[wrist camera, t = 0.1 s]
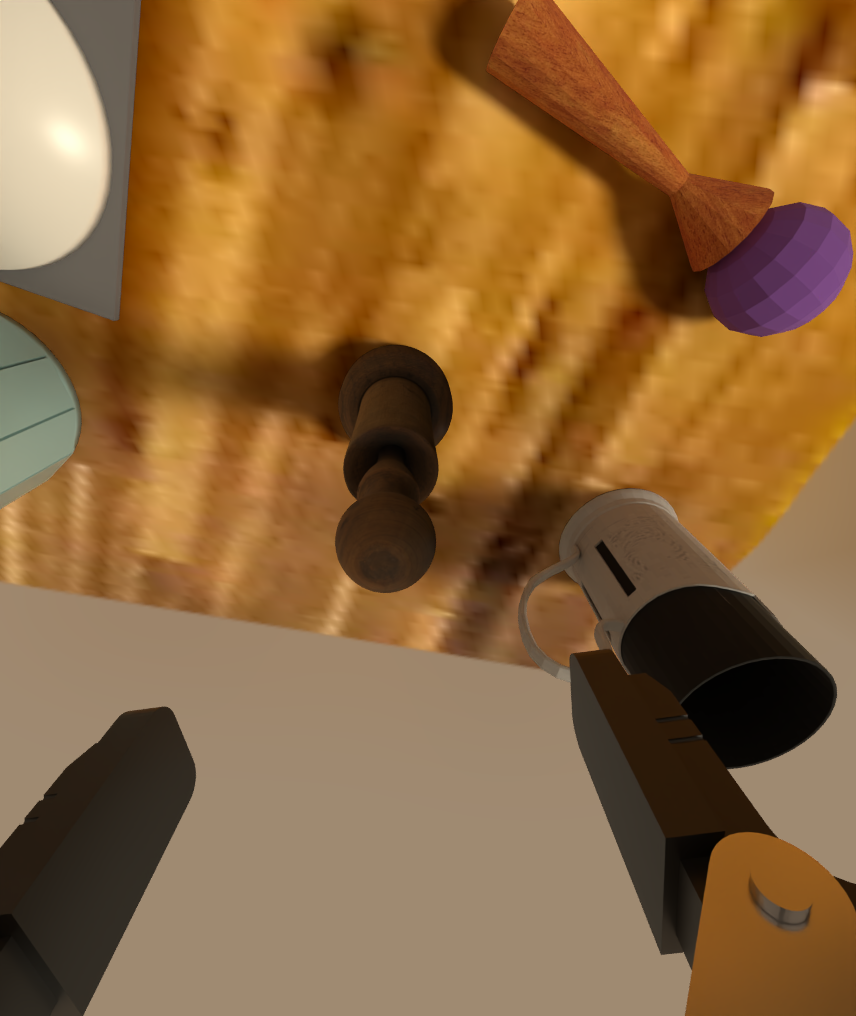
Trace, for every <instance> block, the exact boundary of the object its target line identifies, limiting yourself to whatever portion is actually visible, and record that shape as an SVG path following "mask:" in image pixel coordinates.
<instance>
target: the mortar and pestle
mask: <svg viewBox="0 0 856 1016" xmlns="http://www.w3.org/2000/svg"><path fill="white" fill-rule="evenodd" d="M338 408H339V415H340V419H341V422H342V425H343V427H344V429H345V431H346V433H347V434H348V436H349V437H350V439H351V440H350V443H349V446H348V449H347V452H346V455H345V459H344V466H343V471H344V478H345V482H346V484H347V487H348V489H349V491H350V493H351V494H352V495H353V496H354V497H355V498H356V499H357V500H358V501H356V502H355V503H354V504H352V505H351V506H350V507H349V508H348V509H347V511H346V512H345V513H344V515H343V516H342V518H341V520H340V522H339V524H338V527H337V531H336V538H335V546H336V553H337V557H338V560H339V562H340V564H341V566H342V568H343V570H344V571H345V573H346V574H347V575H348V576H349V577H350V578H351V579H352V580H353V581H354V582H355V583H357V584H358V585H360V586H361V587H363V588H365V589H368V590H371V591H374V592H380V593H391V592H396V591H400V590H403V589H406V588H408V587H409V586H411V585H413V584H414V583H416V582H417V581H418V580H419V579H420V578H421V577H422V576H423V575H424V574H425V572H426V571H427V570H428V568H429V566H430V565H431V562H432V560H433V557H434V554H435V548H436V536H435V530H434V526H433V524H432V521H431V519H430V517H429V516H428V514H427V513H426V511H425V510H424V509H423V508H422V507H421V506H420V505H419V504H420V503H421V502H423V501H424V500H425V499H426V498H427V497H428V496H429V494H430V493H431V492H432V490H433V488H434V486H435V484H436V481H437V477H438V459H437V453H436V448H435V446H436V445H437V444H438V443H439V442H440V441H441V440H442V438H443V437H444V435H445V434H446V432H447V430H448V428H449V425H450V422H451V419H452V412H453V403H452V396H451V392H450V388H449V384H448V382H447V379H446V377H445V375H444V373H443V371H442V370H441V368H440V367H439V366H438V365H437V363H436V362H435V361H434V360H433V359H432V358H430V357H429V356H428V355H426V354H425V353H423V352H421V351H419V350H417V349H415V348H412V347H408V346H402V345H388V346H383V347H379V348H376V349H374V350H371V351H369V352H368V353H366V354H364V355H363V356H362V357H360V358H359V359H358V360H357V361H356V362H355V363H354V364H353V365H352V367H351V368H350V370H349V371H348V373H347V375H346V377H345V379H344V382H343V384H342V387H341V390H340V394H339V401H338Z"/></svg>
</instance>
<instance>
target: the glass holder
mask: <svg viewBox="0 0 856 1016" xmlns="http://www.w3.org/2000/svg"><path fill="white" fill-rule="evenodd" d="M559 556H560V562H557V563H555V564H553V565H551V566H549V567H548V568H546V569H544V570H543V571H541V572H539V573H537V574H536V575H535V576H533V577H532V578H531V579H530V580H529V582H528V583H527V585H526V587H525V588H524V591H523V594H522V597H521V600H520V603H519V611H518V624H519V628H520V633H521V637H522V641H523V643H524V646H525V648H526V650H527V652H528V654H529V656H530V657H531V658H532V659H533V660H534V662H535V663H536V664H537V665H538V666H539V667H540V668H541V669H543V670H544V671H546V672H547V673H549V674H551V675H552V676H554V677H556V678H558V679H561V680H564V681H567V682H570V683H571V681H570V667H567V666H564V665H561V664H559V663H558V662H556V661H554V660H553V659H551V658H549V657H548V656H547V655H546V654H545V653H544V652H543V651H542V650H541V649H540V648H539V647H538V646H537V644H536V642H535V640H534V638H533V636H532V634H531V632H530V628H529V623H528V619H527V601H528V598H529V596H530V594H531V593H532V591H533V589H534V588H535V587H536V586H537V585H539V584H540V583H541V582H543V581H544V580H546V579H548V578H549V577H551V576H553V575H555V574H557V573H559V572H561V571H563V570H565V571H566V573H567V574H568V575H569V576H570V577H571V578H572V579H573V580H574V581H575V582H577V583H578V584H579V585H580V587H581V589H582V591H583V593H584V595H585V596H586V598H587V600H588V602H589V604H590V606H591V608H592V610H593V611H594V613H595V615H596V617H597V619H598V621H599V623H598V624H597V625H596V628H595V632H594V637H595V640H596V643H597V645H598V647H599V650H603V649H610V650H612V648H611V645H612V647H613V649H614V651H615V653H616V655H617V656H618V658H619V660H620V662H621V664H622V666H623V667H624V669H625V670H626V672H627V673H628V674H629V675H632V674H640V673H646V674H648V675H649V676H650V677H652V678H653V679H655V680H656V681H657V682H659V683H660V684H662V685H663V686H664V687H666V688H667V689H669V690H670V691H671V692H672V694H673V695H674V696H675V698H676V699H677V701H678V702H679V703H680V705H681V706H682V707H683V709H684V710H685V712H686V713H687V714H688V718H689V720H692V721H693V723H694V724H695V726H696V727H697V728H698V730H699V731H700V733H701V734H702V737H703V739H704V741H705V740H706V741H707V742H708V744H709V745H710V746H711V748H712V749H713V751H714V752H715V753H716V755H717V756H718V758H719V759H720V760H721V762H722V763H723V765H724V766H725V767H726V769H734V768H742V767H747V766H752V765H756V764H759V763H763V762H765V761H769V760H771V759H774V758H776V757H779V756H781V755H783V754H785V753H787V752H789V751H791V750H793V749H794V748H796V747H797V746H799V745H800V744H802V743H803V742H805V741H806V740H807V739H809V738H810V737H811V736H812V735H814V734H815V733H816V732H817V731H818V730H819V729H820V727H821V726H822V725H823V724H824V723H825V722H826V720H827V719H828V717H829V716H830V715H831V712H832V710H833V708H834V706H835V702H836V698H837V687H836V684H835V681H834V679H833V677H832V675H831V674H830V673H829V672H828V671H827V670H826V669H825V668H824V667H823V666H822V665H821V664H820V663H819V662H818V661H817V660H816V659H815V658H814V657H813V656H812V655H811V654H810V653H809V652H808V651H807V650H806V649H805V648H804V647H803V646H802V645H801V644H800V643H799V642H798V641H797V640H796V639H795V638H793V636H791V635H790V634H789V633H788V632H787V631H786V630H785V629H784V628H783V626H782V625H781V624H780V622H779V621H778V620H777V618H776V617H775V615H774V614H773V613H772V612H771V611H770V610H769V609H768V608H767V607H766V606H765V605H764V604H763V603H762V602H761V601H760V600H759V599H758V598H757V597H756V595H754V594H753V593H752V592H751V591H750V590H749V589H748V588H747V587H746V586H745V585H744V584H743V583H742V582H741V581H740V580H739V579H738V578H737V577H736V576H735V575H734V574H733V573H732V572H730V571H729V570H728V569H727V568H726V567H725V566H724V565H723V564H722V563H721V562H720V561H719V560H718V559H717V558H716V557H715V556H714V555H713V554H712V553H711V552H710V551H709V550H707V549H706V548H705V547H704V546H703V545H702V544H701V543H700V542H699V541H698V540H697V539H696V538H695V537H694V536H693V535H692V534H691V533H690V532H689V531H688V530H687V529H686V528H684V527H683V526H682V525H681V524H680V523H679V522H678V518H677V515H676V513H675V511H674V509H673V508H672V507H671V505H670V504H669V503H668V502H667V501H666V500H665V499H664V498H662V497H661V496H659V495H657V494H655V493H653V492H651V491H647V490H643V489H632V488H629V489H619V490H615V491H611V492H607V493H605V494H602V495H600V496H598V497H596V498H594V499H592V500H591V501H589V502H587V503H586V504H585V505H584V506H582V507H581V508H580V509H579V510H578V511H577V512H576V513H575V514H574V515H573V516H572V517H571V519H570V520H569V522H568V523H567V525H566V526H565V528H564V531H563V533H562V535H561V539H560V543H559ZM609 641H610V642H609ZM610 643H611V645H610ZM612 651H613V650H612Z"/></svg>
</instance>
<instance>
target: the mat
mask: <svg viewBox="0 0 856 1016" xmlns="http://www.w3.org/2000/svg"><path fill="white" fill-rule="evenodd" d="M50 1H51V2H52V3H53V4H54V6H55V7H56V8H57V10H58V11H59V13H60V14H61V16H62V17H63V19H64V20H65V22H66V23H67V25H68V26H69V28H70V29H71V31H72V32H73V34H74V36H75V38H76V40H77V42H78V43H79V45H80V47H81V49H82V51H83V53H84V54H85V56H86V59H87V61H88V63H89V65H90V68H91V70H92V72H93V75H94V77H95V79H96V82H97V85H98V88H99V91H100V94H101V97H102V100H103V103H104V106H105V111H106V115H107V119H108V124H109V128H110V136H111V145H112V178H111V187H110V193H109V196H108V200H107V204H106V208H105V210H104V212H103V215H102V217H101V219H100V222H99V224H98V225H97V227H96V228H95V230H94V231H93V233H92V235H91V236H90V237H89V238H88V239H87V241H86V242H85V243H84V244H83V245H82V246H81V247H80V248H79V249H77V250H76V251H75V252H73V253H72V254H71V255H69V256H68V257H66V258H64V259H62V260H60V261H58V262H56V263H54V264H50V265H47V266H43V267H40V268H32V269H23V270H0V281H1V282H4V283H6V284H9V285H12V286H15V287H18V288H21V289H24V290H27V291H30V292H32V293H35V294H38V295H41V296H44V297H47V298H50V299H53V300H56V301H58V302H61V303H64V304H67V305H70V306H73V307H76V308H79V309H82V310H84V311H87V312H90V313H93V314H96V315H99V316H102V317H105V318H108V319H110V320H113V321H115V320H119V311H120V296H121V282H122V267H123V253H124V238H125V224H126V209H127V195H128V180H129V166H130V151H131V137H132V122H133V108H134V94H135V79H136V65H137V50H138V36H139V21H140V7H141V0H50Z"/></svg>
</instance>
